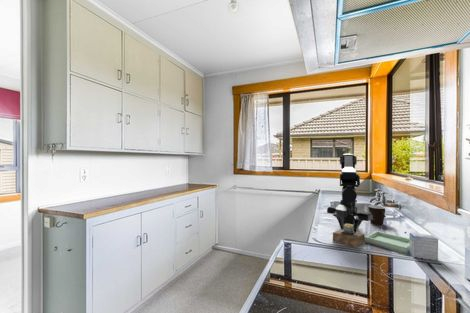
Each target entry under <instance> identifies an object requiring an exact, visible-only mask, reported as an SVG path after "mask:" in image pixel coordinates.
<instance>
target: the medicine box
mask: <svg viewBox="0 0 470 313" xmlns="http://www.w3.org/2000/svg"><path fill="white" fill-rule="evenodd" d="M409 239H410V249H409V252H408V253H409V254H410V256H412V258H414V257H417V258H416V259H421V258H423V259H424V260H429V259H431V261H439V238H437V237H436V236H434V235H433V234H426V233H425V234H424V233H413V232H409Z"/></svg>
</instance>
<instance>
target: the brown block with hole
mask: <svg viewBox="0 0 470 313" xmlns="http://www.w3.org/2000/svg"><path fill="white" fill-rule="evenodd" d="M364 237H365V233H363V232H359V231H357V232H356V233H354V230H353V235H348V234H345V233H344V227H343V230H341V228H340V229H338V230H335V231H333V232H332V241H333V240H334V241H333V242H335V241H337V242H336V243H338V242H339V243H338V244H341V245H345V246H348V247H351V248H357V247H359V246H360V245H362V244H364V243H365V242H364Z"/></svg>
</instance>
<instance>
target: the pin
mask: <svg viewBox="0 0 470 313" xmlns="http://www.w3.org/2000/svg"><path fill="white" fill-rule="evenodd" d="M343 228H344V233H345V234H348V235H353V231H354V226H353V225H352V224H348V223H346V224H344V227H343Z"/></svg>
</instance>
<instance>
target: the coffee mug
mask: <svg viewBox="0 0 470 313" xmlns="http://www.w3.org/2000/svg"><path fill="white" fill-rule="evenodd" d="M368 212H369V213H372V215H373V219H372V220H370V221H369V223H370V224H371V225H374V226H384V221H385V218H386V207H385V206H382V205H374V204H373V205H371V204H370V205H368Z"/></svg>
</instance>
